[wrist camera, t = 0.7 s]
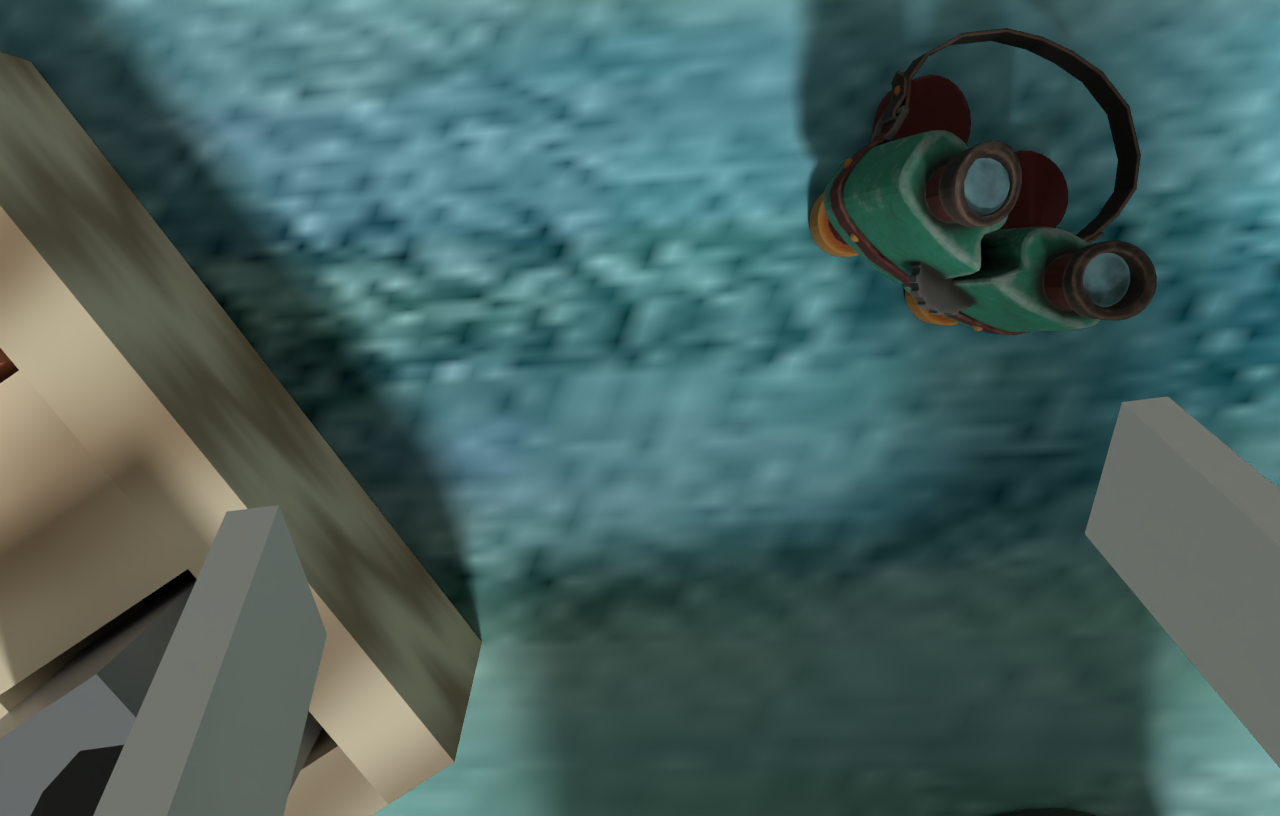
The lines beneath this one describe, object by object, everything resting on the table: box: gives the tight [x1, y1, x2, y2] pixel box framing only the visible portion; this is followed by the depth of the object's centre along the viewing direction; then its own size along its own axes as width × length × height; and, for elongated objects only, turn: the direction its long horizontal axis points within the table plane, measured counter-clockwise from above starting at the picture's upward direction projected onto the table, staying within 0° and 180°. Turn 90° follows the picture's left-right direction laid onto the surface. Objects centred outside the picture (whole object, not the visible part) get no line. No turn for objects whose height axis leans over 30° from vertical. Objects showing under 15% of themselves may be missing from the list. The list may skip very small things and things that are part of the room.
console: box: [0, 52, 482, 816], centre depth 29 cm, size 26×12×8 cm, turn 33°
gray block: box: [0, 575, 323, 816], centre depth 25 cm, size 6×6×8 cm
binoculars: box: [810, 28, 1156, 335], centre depth 28 cm, size 9×11×10 cm
